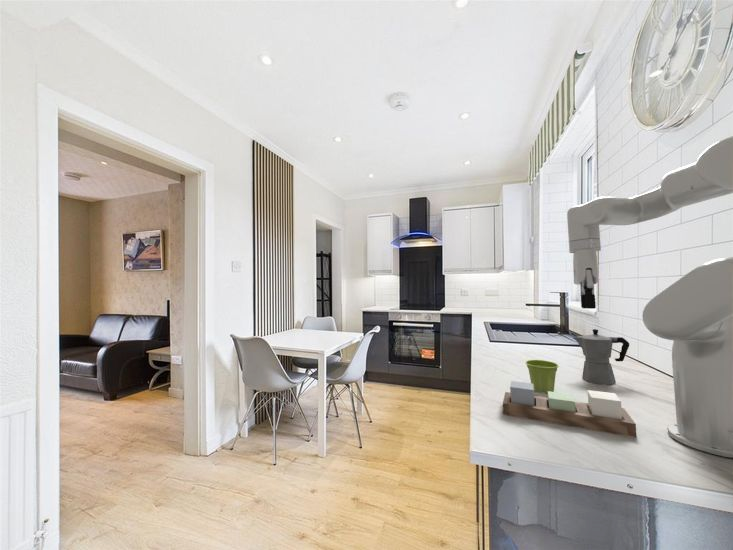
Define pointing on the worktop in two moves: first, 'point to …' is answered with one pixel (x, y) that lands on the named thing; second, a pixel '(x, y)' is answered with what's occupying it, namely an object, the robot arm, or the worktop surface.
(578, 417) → the button housing
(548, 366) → the plant pot
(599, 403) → the white button
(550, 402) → the sage button
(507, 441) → the worktop surface
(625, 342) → the coffeepot
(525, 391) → the grey button
